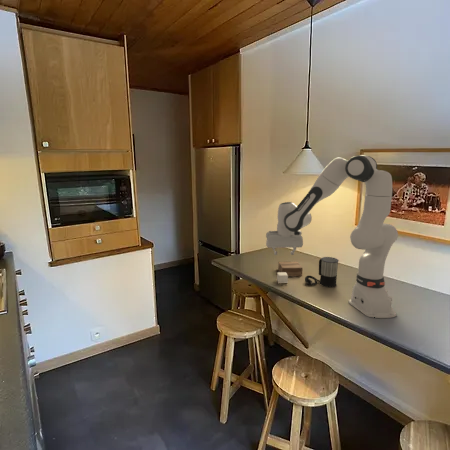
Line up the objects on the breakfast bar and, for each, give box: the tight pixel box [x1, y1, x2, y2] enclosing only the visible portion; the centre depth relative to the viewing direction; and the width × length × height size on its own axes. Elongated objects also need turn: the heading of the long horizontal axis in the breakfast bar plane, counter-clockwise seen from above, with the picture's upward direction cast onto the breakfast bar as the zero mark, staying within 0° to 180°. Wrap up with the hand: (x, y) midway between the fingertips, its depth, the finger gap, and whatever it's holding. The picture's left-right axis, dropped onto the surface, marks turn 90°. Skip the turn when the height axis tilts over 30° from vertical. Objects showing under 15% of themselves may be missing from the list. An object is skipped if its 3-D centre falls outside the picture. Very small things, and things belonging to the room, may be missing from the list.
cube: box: [276, 271, 289, 284], centre depth 180 cm, size 5×5×5 cm
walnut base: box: [277, 261, 303, 277], centre depth 195 cm, size 12×12×5 cm
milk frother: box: [304, 256, 340, 288], centre depth 176 cm, size 14×16×15 cm
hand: (283, 254), depth 178 cm, fingers open, 8 cm apart
